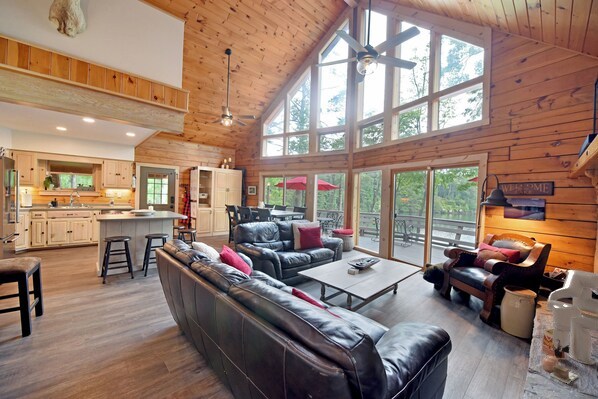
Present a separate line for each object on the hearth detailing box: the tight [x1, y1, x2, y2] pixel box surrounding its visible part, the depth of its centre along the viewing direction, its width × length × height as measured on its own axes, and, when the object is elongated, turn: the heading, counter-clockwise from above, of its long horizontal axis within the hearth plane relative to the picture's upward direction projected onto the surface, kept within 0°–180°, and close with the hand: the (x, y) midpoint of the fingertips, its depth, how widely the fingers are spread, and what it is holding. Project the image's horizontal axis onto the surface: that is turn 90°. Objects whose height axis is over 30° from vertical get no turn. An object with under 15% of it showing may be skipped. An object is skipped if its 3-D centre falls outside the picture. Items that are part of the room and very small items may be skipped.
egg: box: [542, 357, 554, 373], centre depth 159 cm, size 5×5×6 cm
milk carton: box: [541, 327, 566, 360], centre depth 175 cm, size 9×9×20 cm
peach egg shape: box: [546, 355, 559, 366], centre depth 162 cm, size 5×5×6 cm
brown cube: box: [554, 363, 570, 380], centre depth 152 cm, size 5×5×5 cm
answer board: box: [549, 371, 579, 385], centre depth 153 cm, size 14×8×1 cm, turn 116°
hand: (561, 354), depth 152 cm, fingers open, 9 cm apart
